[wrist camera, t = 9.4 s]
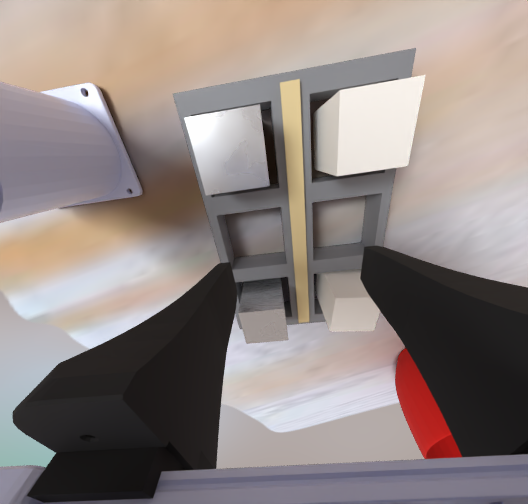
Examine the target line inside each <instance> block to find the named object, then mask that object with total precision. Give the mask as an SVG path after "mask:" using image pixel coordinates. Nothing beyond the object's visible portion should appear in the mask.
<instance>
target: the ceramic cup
mask: <svg viewBox="0 0 528 504" xmlns="http://www.w3.org/2000/svg"><path fill="white" fill-rule="evenodd" d="M395 384H396V391H397V395H398V399H399V402H400V405H401V408H402V411H403V413H404V416H405V418H406V421H407V423H408V425H409V428H410V430H411V432H412V434H413V437H414V439H415V441H416V443H417V445H418V447H419V449H420V451H421V453H422V455H423V457H424V458H425V459H437V458H458V457H462V455H461V453H460V451H459V449H458V447H457V444H456V442H455V440H454V438H453V436H452V434H451V432H450V430H449V428H448V426H447V424H446V422H445V419H444V417H443V415H442V413H441V411H440V409H439V407H438V405H437V403H436V402H435V400H434V398H433V396H432V394H431V392H430V390H429V388H428V386H427V384H426V382H425V380H424V379H423V377H422V375H421V373H420V371H419V370H418V368H417V366H416V364H415V362H414V361H413V359H412V357H411V356H410V354H409V352H408V351H407V349H406V348H405V349H404V350H403V351H402V352H401V353H400V354H399V356H398V363H397V367H396V375H395Z"/></svg>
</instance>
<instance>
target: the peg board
mask: <svg viewBox="0 0 528 504" xmlns="http://www.w3.org/2000/svg"><path fill="white" fill-rule="evenodd" d="M415 51H416V48H413V49H408V50H403V51H397V52H392V53H387V54H381V55H376V56H371V57H365V58H360V59H355V60H349V61H344V62H339V63H333V64H328V65H323V66H317V67H312V68H307V69H302V70H296V71H291V72H286V73H280V74H275V75H270V76H264V77H259V78H254V79H248V80H243V81H238V82H232V83H227V84H222V85H217V86H211V87H206V88H201V89H195V90H190V91H185V92H179V93H174V94H173V97H174V100H175V104H176V107H177V111H178V114H179V118H180V121H181V125H182V128H183V132H184V135H185V139H186V142H187V146H188V149H189V153H190V156H191V160H192V163H193V167H194V170H195V174H196V177H197V181H198V184H199V188H200V191H201V195H202V198H203V202H204V205H205V209H206V212H207V216H208V219H209V223H210V226H211V230H212V233H213V237H214V240H215V244H216V247H217V251H218V254H219V258H220V261H221V263H226V262H230V263H231V267H232V271H233V275H234V279H235V283H236V287H237V304H236V311H235V314H236V317H237V321H238V324H239V328H240V329H242V325H241V321H240V318H239V314H238V312H239V306H240V300H241V294H242V286H241V282H244V281H253V280H262V279H271V278H280V277H287V280H288V290H289V300H290V301H287V302H284V309H285V317H286V325H292V324H303V323H314V322H325V321H326V320H325V317H324V315H323V312H322V309H321V306H320V303H319V301H318V298H317V299H314V274H316V273H326V272H335V271H344V270H353V269H361V268H362V261H363V253H364V247H367V246H381V247H383V243H384V237H385V231H386V225H387V219H388V213H389V207H390V201H391V195H392V189H393V183H394V177H395V171H396V168H391V169H384V170H377V171H370V172H363V173H356V174H350V175H343V176H334V175H333V176H326V177H319V178H312V176H311V131H310V102H313V101H319V100H324V99H330V98H332V97H333V96H334V95H335V94H336V93H337V92H338V91H340V90H343V89H349V88H355V87H360V86H366V85H371V84H377V83H383V82H388V81H394V80H400V79H405V78H411V75H412V69H413V63H414V57H415ZM259 104H260V109H261V110H267V109H270V111H271V121H272V131H273V141H274V151H275V161H276V171H277V181H278V184H271V185H270V186H267V187H260V188H253V189H246V190H240V191H233V192H226V193H219V194H212V195H206V194H205V191H204V187H203V184H202V180H201V176H200V173H199V169H198V165H197V162H196V158H195V155H194V151H193V147H192V144H191V140H190V136H189V133H188V129H187V126H186V122H185V118H186V117H191V116H197V115H203V114H208V113H214V112H220V111H225V110H231V109H236V108H242V107H248V106H253V105H259ZM364 195H366V203H365V212H364V221H363V231H362V240H361V243H353V244H345V245H337V246H328V247H320V248H313V221H312V203H313V202H320V201H328V200H335V199H342V198H350V197H357V196H364ZM277 207H280V210H281V220H282V230H283V240H284V250H285V252H278V253H270V254H261V255H253V256H245V257H236V258H234V253H233V249H232V245H231V241H230V237H229V233H228V229H227V225H226V221H225V216H224V215H225V214H233V213H240V212H247V211H255V210H262V209H269V208H277Z"/></svg>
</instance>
